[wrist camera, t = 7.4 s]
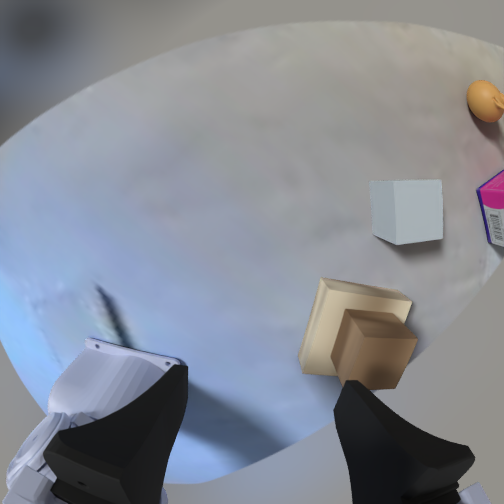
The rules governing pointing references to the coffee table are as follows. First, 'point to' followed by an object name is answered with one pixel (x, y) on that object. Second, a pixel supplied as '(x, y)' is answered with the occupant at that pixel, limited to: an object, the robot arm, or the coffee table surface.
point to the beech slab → (331, 313)
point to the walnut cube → (372, 349)
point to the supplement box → (493, 208)
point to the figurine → (485, 101)
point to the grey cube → (407, 210)
